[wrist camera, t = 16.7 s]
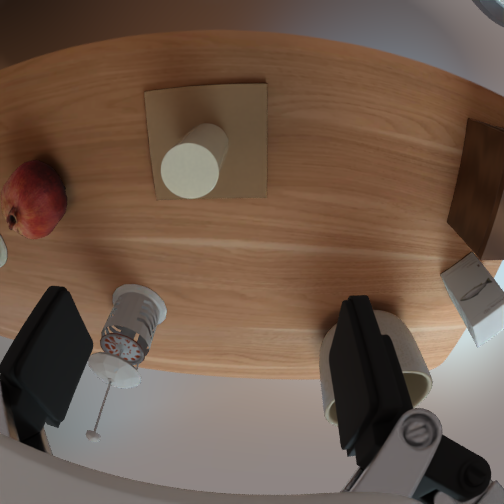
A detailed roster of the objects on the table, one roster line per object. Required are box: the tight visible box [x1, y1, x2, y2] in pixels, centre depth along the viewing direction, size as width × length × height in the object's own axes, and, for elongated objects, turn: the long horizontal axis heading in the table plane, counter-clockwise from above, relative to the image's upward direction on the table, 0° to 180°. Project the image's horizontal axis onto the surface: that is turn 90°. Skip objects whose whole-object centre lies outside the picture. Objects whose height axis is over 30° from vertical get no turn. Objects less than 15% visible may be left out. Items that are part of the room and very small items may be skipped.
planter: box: [319, 310, 433, 426], centre depth 46 cm, size 17×17×15 cm
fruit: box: [1, 160, 67, 239], centre depth 34 cm, size 11×10×10 cm
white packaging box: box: [441, 252, 504, 347], centre depth 40 cm, size 7×7×13 cm
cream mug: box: [161, 123, 229, 199], centre depth 31 cm, size 7×5×10 cm
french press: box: [86, 284, 167, 442], centre depth 40 cm, size 10×12×25 cm
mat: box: [144, 83, 267, 200], centre depth 35 cm, size 14×14×1 cm
